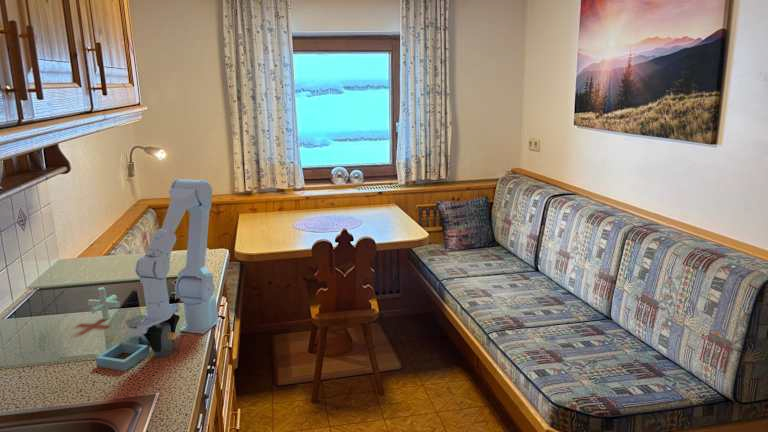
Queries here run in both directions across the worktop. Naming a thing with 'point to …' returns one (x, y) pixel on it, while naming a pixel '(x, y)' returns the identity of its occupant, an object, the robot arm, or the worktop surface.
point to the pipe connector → (103, 303)
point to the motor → (136, 331)
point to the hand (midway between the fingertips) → (163, 346)
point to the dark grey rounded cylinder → (165, 340)
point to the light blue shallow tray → (111, 362)
